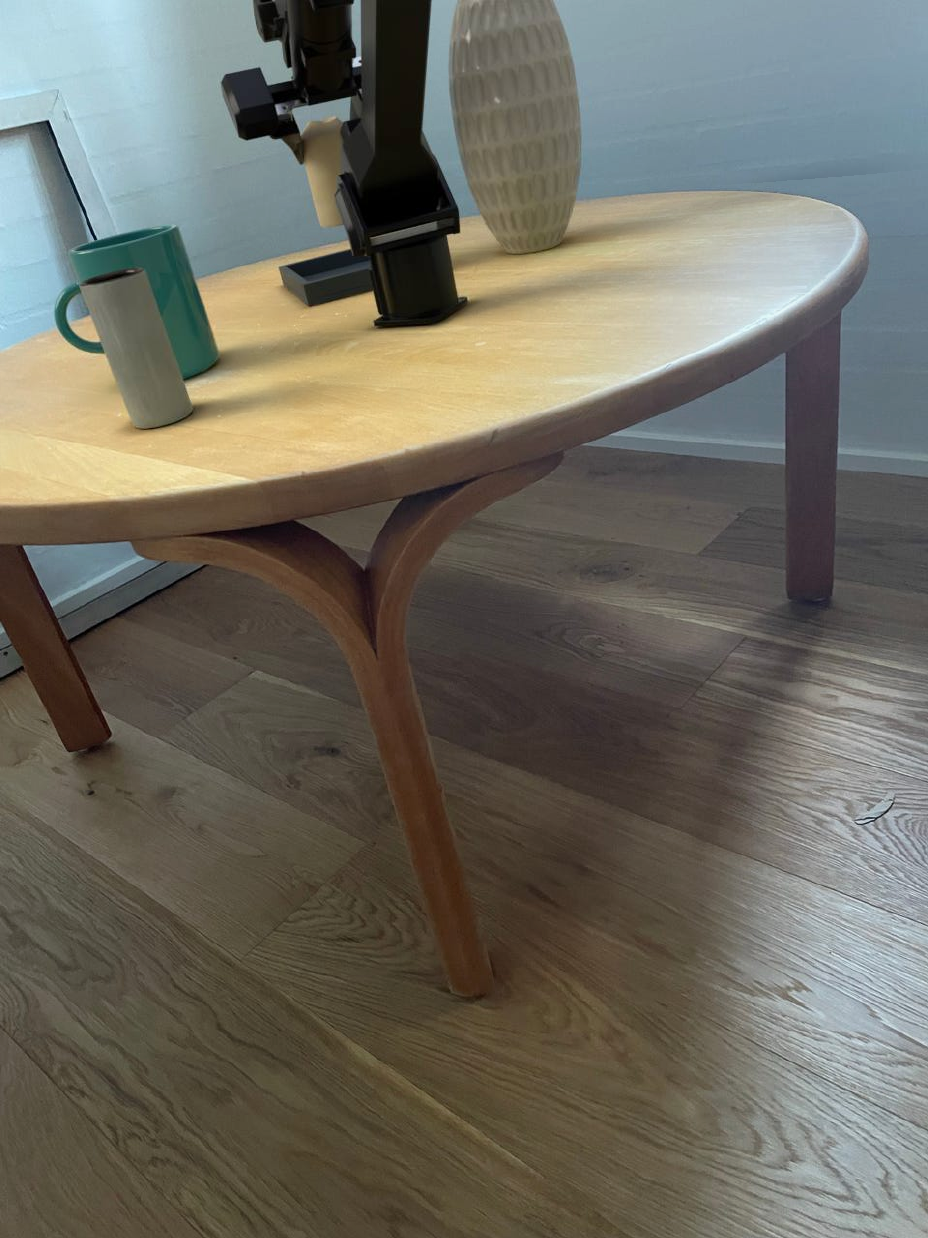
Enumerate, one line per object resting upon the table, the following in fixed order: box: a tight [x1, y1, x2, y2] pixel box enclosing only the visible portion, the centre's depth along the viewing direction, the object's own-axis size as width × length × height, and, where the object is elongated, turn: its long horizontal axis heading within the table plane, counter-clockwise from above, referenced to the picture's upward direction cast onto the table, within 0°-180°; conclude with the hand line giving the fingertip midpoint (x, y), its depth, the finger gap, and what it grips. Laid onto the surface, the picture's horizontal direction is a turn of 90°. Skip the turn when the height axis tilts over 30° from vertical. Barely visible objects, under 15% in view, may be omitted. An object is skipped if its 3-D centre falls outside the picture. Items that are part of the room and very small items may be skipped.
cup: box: [53, 224, 220, 380], centre depth 77 cm, size 9×12×11 cm
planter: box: [79, 267, 194, 430], centre depth 66 cm, size 4×4×10 cm
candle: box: [300, 115, 344, 228], centre depth 96 cm, size 6×6×10 cm
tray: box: [278, 248, 373, 308], centre depth 101 cm, size 16×15×2 cm
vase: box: [447, 0, 582, 255], centre depth 92 cm, size 13×13×28 cm
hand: (327, 154), depth 96 cm, fingers closed on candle, 5 cm apart
